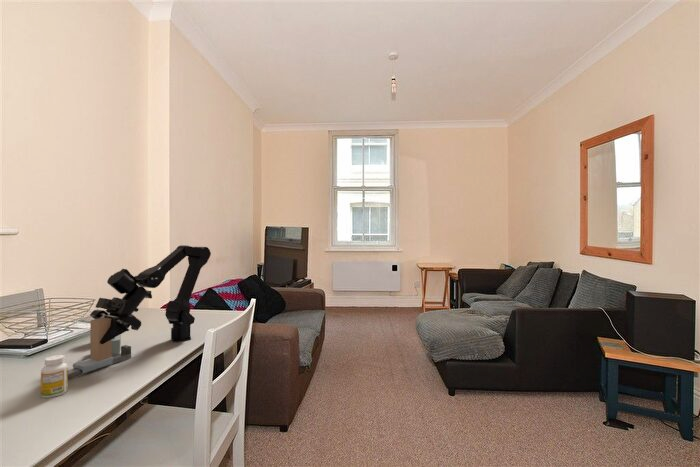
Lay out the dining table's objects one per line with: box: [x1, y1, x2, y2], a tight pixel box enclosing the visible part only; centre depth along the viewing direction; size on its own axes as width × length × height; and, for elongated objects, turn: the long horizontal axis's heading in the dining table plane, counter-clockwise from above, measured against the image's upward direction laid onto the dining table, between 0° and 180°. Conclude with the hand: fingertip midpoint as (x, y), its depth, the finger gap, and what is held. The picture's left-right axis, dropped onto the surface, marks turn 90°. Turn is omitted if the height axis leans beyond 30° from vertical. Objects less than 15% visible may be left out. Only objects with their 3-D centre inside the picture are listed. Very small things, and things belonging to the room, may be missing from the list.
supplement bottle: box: [40, 354, 69, 399], centre depth 91 cm, size 5×5×10 cm
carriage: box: [72, 317, 113, 374], centre depth 107 cm, size 8×6×14 cm, turn 158°
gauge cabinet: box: [111, 334, 122, 356], centre depth 122 cm, size 7×7×5 cm
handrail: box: [68, 344, 132, 380], centre depth 107 cm, size 22×3×4 cm, turn 158°
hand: (96, 342), depth 108 cm, fingers closed on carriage, 4 cm apart
